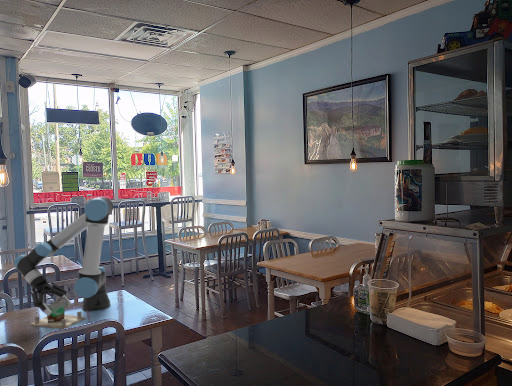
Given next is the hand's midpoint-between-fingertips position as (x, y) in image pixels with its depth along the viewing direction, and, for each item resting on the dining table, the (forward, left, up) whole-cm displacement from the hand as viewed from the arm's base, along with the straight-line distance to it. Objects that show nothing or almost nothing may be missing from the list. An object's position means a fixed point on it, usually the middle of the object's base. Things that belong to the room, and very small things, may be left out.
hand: (60, 309), depth 210 cm
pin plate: (0, -2, -7) cm, 7 cm away
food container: (0, -2, -6) cm, 6 cm away
